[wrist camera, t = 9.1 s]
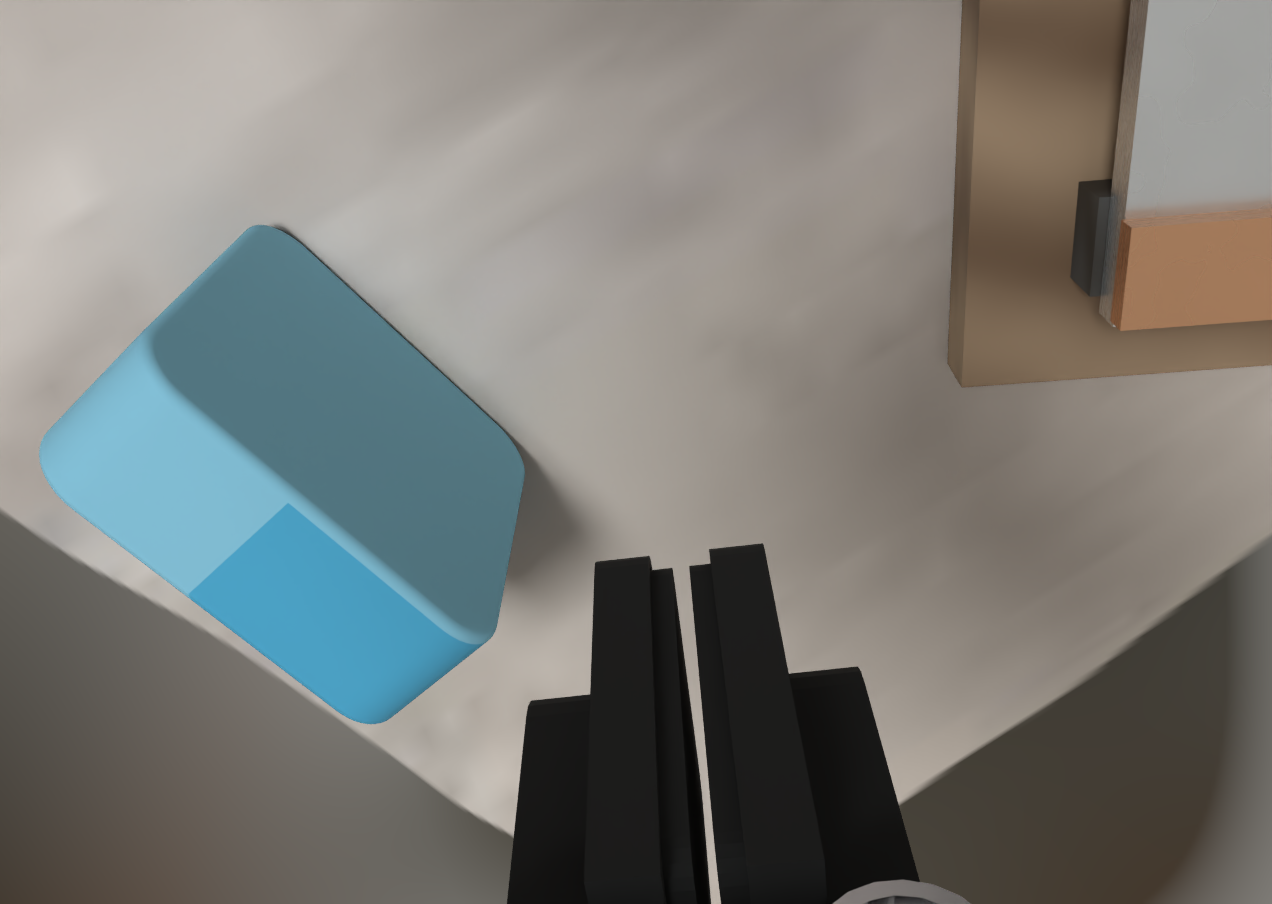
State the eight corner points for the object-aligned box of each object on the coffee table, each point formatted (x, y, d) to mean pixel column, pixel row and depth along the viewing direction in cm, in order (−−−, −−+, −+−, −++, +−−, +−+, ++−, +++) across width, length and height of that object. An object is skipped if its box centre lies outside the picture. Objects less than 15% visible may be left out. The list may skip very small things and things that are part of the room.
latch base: (979, -428, 30) (1049, -484, 25) (1460, -476, 30) (1631, -543, 25) (947, 363, 40) (992, 439, 35) (1307, 337, 40) (1405, 410, 35)
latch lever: (1164, -372, 28) (1200, -386, 26) (1393, -394, 27) (1445, -411, 26) (1095, 312, 35) (1119, 337, 34) (1272, 299, 35) (1306, 323, 33)
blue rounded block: (181, 299, 40) (10, 468, 29) (267, 209, 38) (121, 351, 27) (445, 527, 43) (381, 750, 33) (532, 453, 42) (495, 660, 31)
